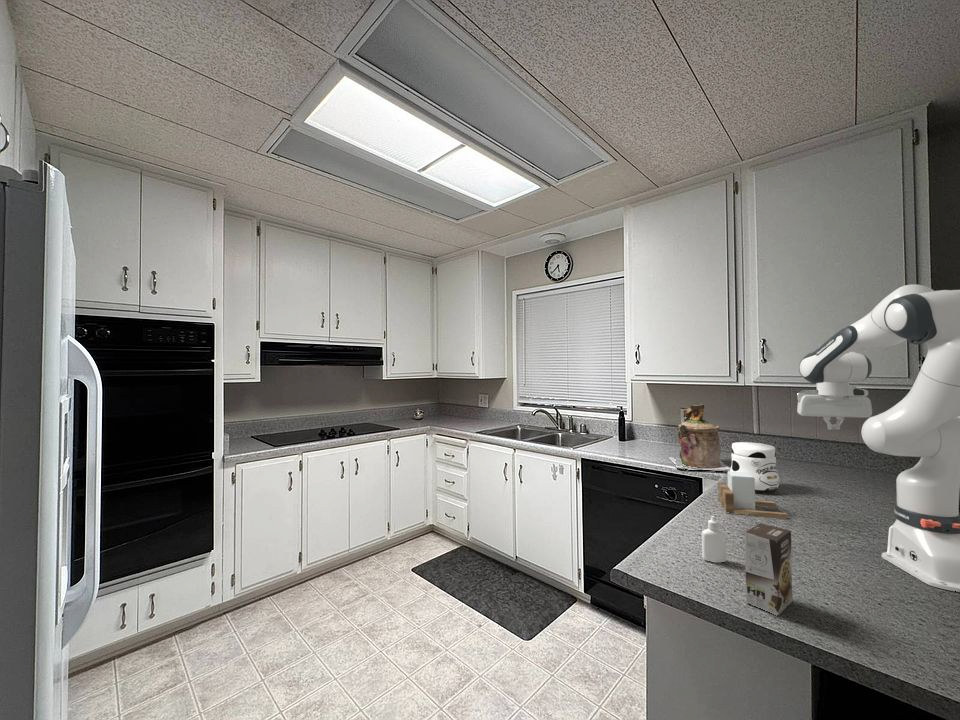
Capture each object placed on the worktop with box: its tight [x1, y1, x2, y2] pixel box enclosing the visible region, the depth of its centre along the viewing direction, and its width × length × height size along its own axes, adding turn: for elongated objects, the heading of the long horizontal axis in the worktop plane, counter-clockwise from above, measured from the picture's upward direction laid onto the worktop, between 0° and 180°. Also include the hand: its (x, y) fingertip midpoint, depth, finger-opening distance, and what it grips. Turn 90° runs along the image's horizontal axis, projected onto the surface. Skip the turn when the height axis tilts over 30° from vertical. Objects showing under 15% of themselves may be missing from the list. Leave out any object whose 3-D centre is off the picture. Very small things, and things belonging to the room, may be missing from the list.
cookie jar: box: [668, 403, 731, 471], centre depth 209 cm, size 25×25×32 cm
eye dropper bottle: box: [701, 515, 727, 563], centre depth 112 cm, size 4×6×12 cm
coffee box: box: [744, 522, 793, 617], centre depth 92 cm, size 9×6×16 cm
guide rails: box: [727, 499, 789, 520], centre depth 148 cm, size 13×18×2 cm
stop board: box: [717, 482, 734, 514], centre depth 151 cm, size 13×2×7 cm, turn 160°
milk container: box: [730, 441, 780, 493], centre depth 172 cm, size 17×17×18 cm
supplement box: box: [726, 471, 756, 510], centre depth 149 cm, size 7×7×13 cm
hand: (833, 429), depth 144 cm, fingers closed
